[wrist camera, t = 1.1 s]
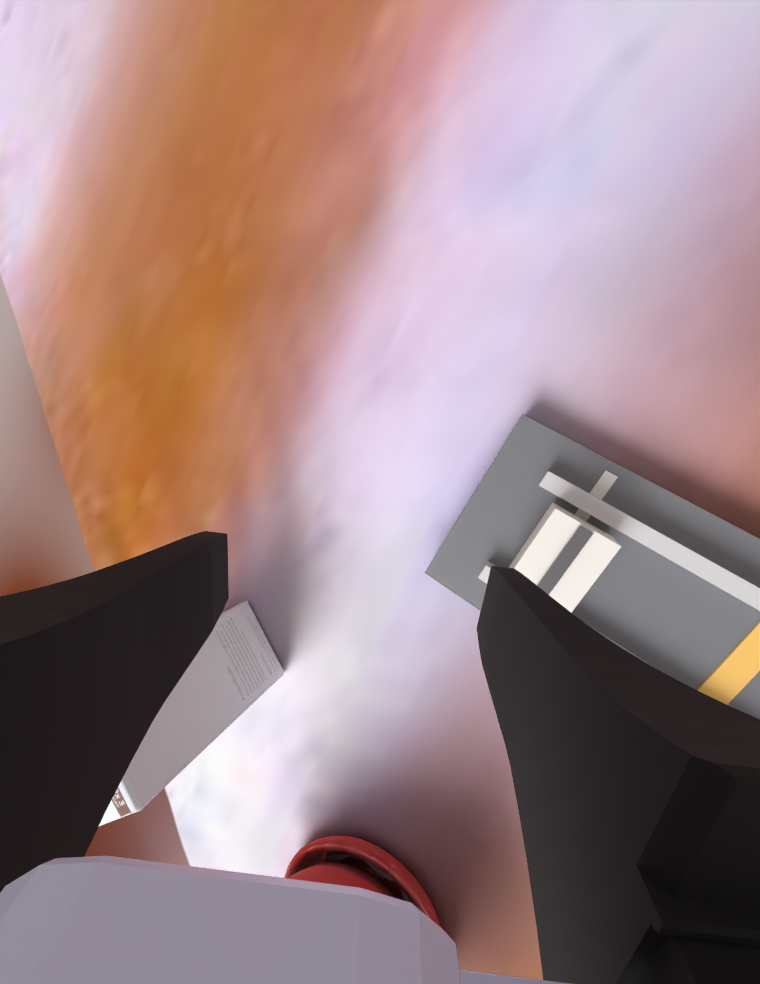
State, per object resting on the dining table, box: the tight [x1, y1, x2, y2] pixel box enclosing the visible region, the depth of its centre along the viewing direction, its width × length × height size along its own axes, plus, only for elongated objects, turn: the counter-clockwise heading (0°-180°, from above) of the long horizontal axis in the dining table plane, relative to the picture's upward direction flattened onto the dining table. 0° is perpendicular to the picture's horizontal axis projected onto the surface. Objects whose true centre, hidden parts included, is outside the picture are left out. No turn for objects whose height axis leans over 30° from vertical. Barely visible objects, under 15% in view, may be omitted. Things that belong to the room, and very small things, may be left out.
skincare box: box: [99, 601, 284, 826], centre depth 24 cm, size 6×4×12 cm
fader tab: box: [508, 502, 621, 613], centre depth 19 cm, size 3×4×3 cm
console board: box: [425, 414, 760, 719], centre depth 20 cm, size 18×10×2 cm, turn 61°
